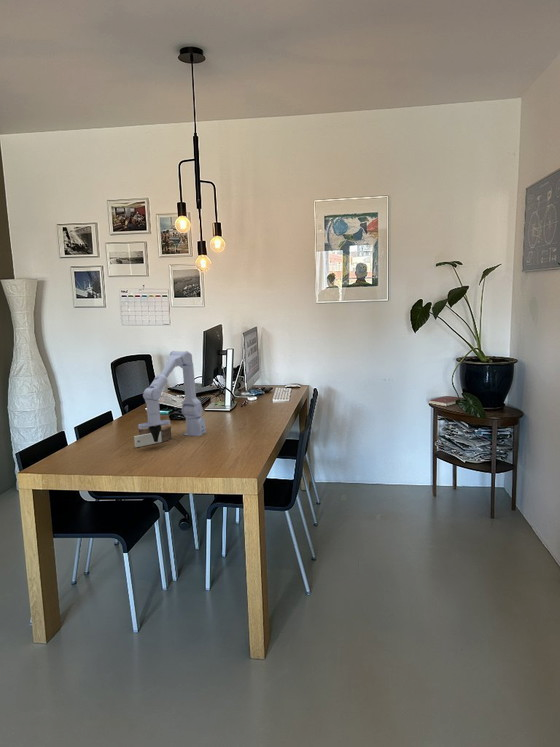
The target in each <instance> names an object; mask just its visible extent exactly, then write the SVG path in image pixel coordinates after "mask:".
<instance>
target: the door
mask: <svg viewBox="0 0 560 747" xmlns="http://www.w3.org/2000/svg"><path fill="white" fill-rule="evenodd" d="M161 436H163V432H161V431H160V433H159V437H158V442H154V439H153V436H152V434H151V433H149V434H144V435H139V434H138V435H134V436H133V441H134V447H135V448H141V447H144V446H145V447H146V446H149V445H150V446H151V445H154V444H159V443H163V442H162V441H163V437H161Z"/></svg>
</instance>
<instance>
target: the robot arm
mask: <svg viewBox="0 0 560 747" xmlns="http://www.w3.org/2000/svg"><path fill="white" fill-rule="evenodd" d="M177 367H180V368H181V369H182V376H183V377H182V378H183V388H184V389H183V390H184V397H185V398H184V399H183V401H182V402H181V404H182V407H181V414H182V415H183V417H184V418H185V425H186V426H185V427H186V432H184V433H183V434H182V435H183V436H193V437H200V436H202V435H204V434H207V429H206V428H207V426H206V419H205V417H203V416H202V415H203V411H204V410H203V405H202V401H201V400H199V398H197V394H196V393H197V392H196V381H195V369H194V363H193V354H192V353H191V352H189V351H186V350H185V351H182V350H181V351H180V350H179V351H178V350H177V351H176V350H172V351H170V353H169V355H168V356H167V361H166V363H165V365H164V367H163V369H162V371H161V373H160V374H157V375H155V377H154V379H153V381H152V382H151V383H150V385H149V387H146V388H145V389H144V391H143V393H142V397H143V399H144V402H145V404H146V414H147V422H143V423H139V424H137V426H138V427H137V428H139V429H142V428H148V429H149V430H150V432H151V434H152V436H153V439H154V442H158V437H159V433H160V431H161V426H171V420H170V419H164V420H161V412H160V410H161V409H160V399H161V397H162V392H163V389H164V387H165V386H166V385H167V383H168V377H169V376H170V374H171V373H172V372H173V370H174V369H175V368H177ZM139 429H138V430H139Z"/></svg>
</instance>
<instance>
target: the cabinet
mask: <svg viewBox="0 0 560 747" xmlns="http://www.w3.org/2000/svg"><path fill="white" fill-rule="evenodd" d="M137 430H138V436H139V435H144V434H149V433H151V432H150V430H149V429H148V428H142V429H139V427H137ZM161 432H163V436H161V437H163V441H162V442H161V443H164V442H166V441H168V440H171V439H172V426H171V425H161Z"/></svg>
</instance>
